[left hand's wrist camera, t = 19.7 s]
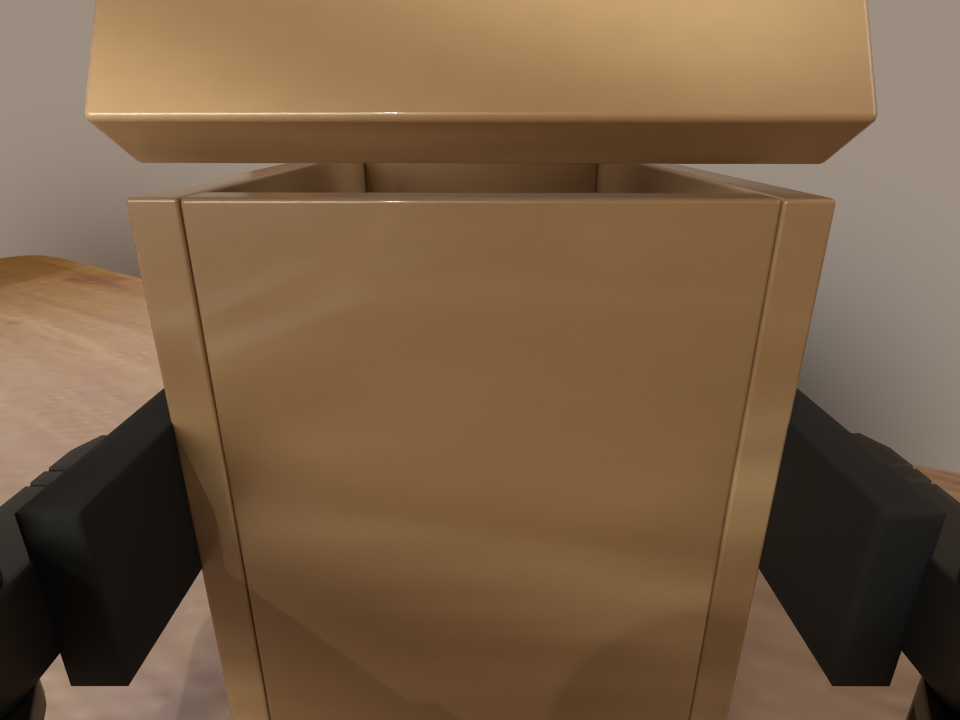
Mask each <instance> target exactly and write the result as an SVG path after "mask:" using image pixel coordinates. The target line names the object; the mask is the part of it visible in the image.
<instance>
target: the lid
mask: <svg viewBox="0 0 960 720" xmlns="http://www.w3.org/2000/svg"><path fill="white" fill-rule="evenodd" d="M85 115H86V118H87V120H88V121H90V122H91V123H92V124H93V125H94V126H96V127H97V128H98V129H99V130H100V131H102V132H103V133H104V134H105V135H107V136H108V137H109V138H110V139H111V140H113V141H114V142H115V143H116V144H118V145H119V146H120V147H121V148H123V149H124V150H125V151H126V152H127V153H128V154H130V155H131V156H132V157H133V158H135V159H136V160H137V161H140V162H142V163H559V164H820V163H823V162H825V161H826V160H828V159H829V158H830V157H831V156H832V155H834V154H835V153H836V152H837V151H839V150H840V149H841V148H842V147H844V146H845V145H846V144H847V143H848V142H850V141H851V140H852V139H853V138H855V137H856V136H857V135H858V134H860V133H861V132H862V131H863V130H864V129H866V128H867V127H868V126H869V125H871V124H872V123H873V122H874V121H875V119H876V117H877V102H876V91H875V80H874V69H873V58H872V48H871V37H870V26H869V15H868V4H867V0H95V10H94V21H93V31H92V41H91V52H90V62H89V73H88V83H87V94H86V104H85Z"/></svg>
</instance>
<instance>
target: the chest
mask: <svg viewBox="0 0 960 720" xmlns="http://www.w3.org/2000/svg"><path fill="white" fill-rule="evenodd" d="M126 205H127V210H128V214H129V219H130V224H131V229H132V234H133V238H134V243H135V248H136V253H137V258H138V263H139V268H140V272H141V277H142V282H143V287H144V292H145V297H146V302H147V306H148V311H149V316H150V321H151V326H152V331H153V335H154V340H155V345H156V350H157V355H158V360H159V364H160V369H161V374H162V379H163V384H164V389H165V393H166V398H167V403H168V408H169V413H170V418H171V422H172V424H173V429H174V434H175V439H176V443H177V448H178V453H179V458H180V463H181V467H182V472H183V477H184V482H185V487H186V492H187V496H188V501H189V506H190V511H191V516H192V520H193V525H194V530H195V535H196V540H197V545H198V549H199V554H200V559H201V564H202V572H203V577H204V582H205V587H206V592H207V597H208V601H209V606H210V611H211V616H212V621H213V626H214V630H215V635H216V640H217V645H218V650H219V655H220V659H221V664H222V669H223V674H224V679H225V684H226V689H227V693H228V698H229V703H230V708H231V713H232V718H233V720H727V716H728V712H729V707H730V702H731V697H732V693H733V688H734V683H735V678H736V674H737V669H738V664H739V659H740V655H741V650H742V645H743V640H744V636H745V631H746V626H747V621H748V617H749V612H750V607H751V603H752V598H753V593H754V588H755V584H756V579H757V574H758V569H759V564H760V559H761V555H762V550H763V545H764V540H765V536H766V531H767V526H768V521H769V516H770V512H771V507H772V502H773V497H774V493H775V488H776V483H777V478H778V473H779V469H780V464H781V459H782V454H783V450H784V445H785V440H786V435H787V430H788V426H789V422H790V417H791V413H792V408H793V403H794V398H795V394H796V389H797V384H798V379H799V375H800V370H801V365H802V360H803V355H804V351H805V346H806V341H807V337H808V332H809V327H810V322H811V318H812V313H813V308H814V303H815V298H816V294H817V289H818V284H819V279H820V275H821V270H822V265H823V261H824V256H825V251H826V246H827V242H828V237H829V232H830V227H831V223H832V218H833V213H834V208H835V200H834V199H832V198H828V197H823V196H819V195H814V194H809V193H805V192H800V191H796V190H791V189H787V188H782V187H777V186H773V185H768V184H764V183H759V182H754V181H750V180H745V179H740V178H736V177H731V176H727V175H722V174H717V173H713V172H708V171H704V170H699V169H694V168H690V167H685V166H681V165H676V164H559V163H287V164H283V165H278V166H273V167H269V168H264V169H259V170H254V171H250V172H245V173H240V174H236V175H231V176H226V177H221V178H217V179H212V180H207V181H203V182H198V183H193V184H189V185H184V186H179V187H175V188H170V189H165V190H160V191H156V192H151V193H146V194H142V195H137V196H133V197H129V198H127V199H126Z"/></svg>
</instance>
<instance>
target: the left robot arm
mask: <svg viewBox="0 0 960 720" xmlns="http://www.w3.org/2000/svg"><path fill="white" fill-rule="evenodd" d="M201 569H202V564H201V559H200V554H199V549H198V545H197V540H196V535H195V530H194V525H193V520H192V516H191V511H190V506H189V501H188V496H187V492H186V487H185V482H184V477H183V472H182V467H181V463H180V458H179V453H178V448H177V443H176V439H175V434H174V429H173V424H172V422H171V418H170V413H169V408H168V403H167V398H166V393H165V389H163V390H161V391H160V392H159V393H158V394H157V395H155V396H154V397H153V398H152V399H151V400H149V401H148V402H147V403H146V404H145V405H143V406H142V407H141V408H140V409H139V410H137V411H136V412H135V413H134V414H133V415H131V416H130V417H129V418H128V419H127V420H125V421H124V422H123V423H122V424H121V425H119V426H118V427H117V428H116V429H115V430H113V431H112V432H111V433H110V434H109V435H102V436H100V437H98V438H95V439H93V440H91V441H89V442H87V443H85V444H83V445H81V446H79V447H77V448H75V449H73V450H71V451H70V452H68V453H67V454H66V455H65V456H63V457H62V458H61V459H60V460H58V461H57V462H56V463H55V464H53V465H52V466H51V467H50V468H49V472H43V473H42V474H41V475H40V476H38V477H37V478H36V479H35V480H33V481H32V482H31V485H30V487H25V488H23V489H22V490H21V491H19V492H18V493H17V494H16V495H14V496H13V497H12V498H11V499H9V500H8V501H7V502H6V503H4V504H3V505H2V506H1V507H0V720H44V717H45V710H46V699H45V693H44V690H43V687H42V684H41V681H40V677H41V676H42V675H43V674H44V672H45V671H46V670H47V669H48V667H49V666H50V665H51V664H52V662H53V661H54V660H55V659H56V657H57V656H58V655H59V653H60V654H61V657H62V660H63V663H64V666H65V669H66V672H67V675H68V678H69V681H70V684H71V686H129V684H130V682H131V681H132V679H133V678H134V676H135V674H136V673H137V671H138V670H139V668H140V666H141V665H142V663H143V662H144V660H145V658H146V657H147V655H148V654H149V652H150V651H151V649H152V647H153V646H154V644H155V643H156V641H157V639H158V638H159V636H160V635H161V633H162V631H163V630H164V628H165V627H166V625H167V623H168V622H169V620H170V619H171V617H172V615H173V614H174V612H175V611H176V609H177V607H178V606H179V604H180V603H181V601H182V599H183V598H184V596H185V595H186V593H187V591H188V590H189V588H190V587H191V585H192V583H193V582H194V580H195V579H196V577H197V575H198V574H199V572H200V571H201ZM759 569H760V571H761V573H762V574H763V576H764V577H765V579H766V581H767V582H768V584H769V585H770V587H771V589H772V590H773V592H774V593H775V595H776V597H777V598H778V600H779V601H780V603H781V605H782V606H783V608H784V609H785V611H786V613H787V614H788V616H789V617H790V619H791V620H792V622H793V624H794V625H795V627H796V628H797V630H798V632H799V633H800V635H801V636H802V638H803V640H804V641H805V643H806V644H807V646H808V648H809V649H810V651H811V652H812V654H813V656H814V657H815V659H816V660H817V662H818V664H819V665H820V667H821V668H822V670H823V672H824V673H825V675H826V676H827V678H828V680H829V681H830V683H831V684H832V686H890V684H891V681H892V678H893V675H894V672H895V669H896V666H897V662H898V659H899V656H900V653H901V650H902V652H903V653H904V654H905V655H906V657H907V658H908V659H909V660H910V662H911V663H912V664H913V665H914V667H915V668H916V669H917V670H918V672H919V673H920V674H921V675H922V676H921V678H920V681H919V684H918V687H917V690H916V693H915V695H914V698H913V701H912V704H911V707H910V709H909V712H908V715H907V718H906V720H960V503H959V502H958V501H957V500H955V499H954V498H953V497H952V496H950V495H949V494H948V493H946V492H945V491H944V490H943V489H941V488H940V487H939V486H938V485H936V484H932V483H931V480H930V479H929V478H927V477H926V476H925V475H924V474H922V473H921V472H920V471H919V470H917V469H913V466H912V465H911V464H910V463H908V462H907V461H906V460H905V459H903V458H902V457H901V456H900V455H898V454H897V453H896V452H894V451H893V450H892V449H891V448H889V447H887V446H885V445H883V444H881V443H879V442H876V441H874V440H872V439H870V438H868V437H866V436H864V435H862V434H860V433H850V432H849V431H847V430H846V429H845V428H844V427H843V426H841V425H840V424H839V423H838V422H837V421H835V420H834V419H833V418H832V417H831V416H829V415H828V414H827V413H826V412H825V411H823V410H822V409H821V408H820V407H819V406H817V405H816V404H815V403H814V402H813V401H812V400H810V399H809V398H808V397H807V396H806V395H804V394H803V393H802V392H801V391H800V390H798V389H796V394H795V398H794V403H793V408H792V413H791V417H790V422H789V426H788V430H787V435H786V440H785V445H784V450H783V454H782V459H781V464H780V469H779V473H778V478H777V483H776V488H775V493H774V497H773V502H772V507H771V512H770V516H769V521H768V526H767V531H766V536H765V540H764V545H763V550H762V555H761V559H760V564H759Z"/></svg>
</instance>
